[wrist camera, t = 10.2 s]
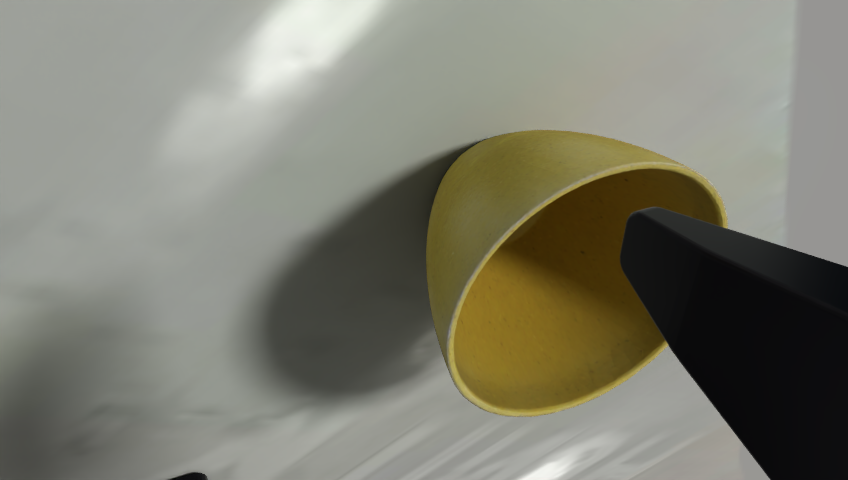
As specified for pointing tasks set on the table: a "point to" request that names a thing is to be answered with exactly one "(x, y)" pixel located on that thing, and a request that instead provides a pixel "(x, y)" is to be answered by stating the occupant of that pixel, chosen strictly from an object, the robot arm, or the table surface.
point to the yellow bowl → (547, 266)
